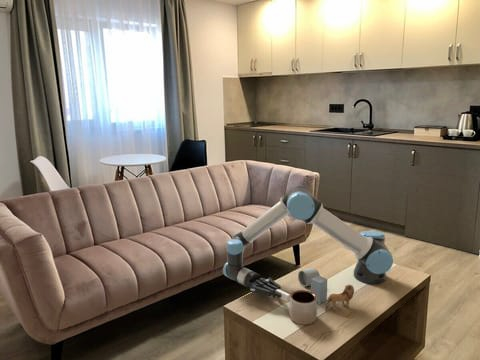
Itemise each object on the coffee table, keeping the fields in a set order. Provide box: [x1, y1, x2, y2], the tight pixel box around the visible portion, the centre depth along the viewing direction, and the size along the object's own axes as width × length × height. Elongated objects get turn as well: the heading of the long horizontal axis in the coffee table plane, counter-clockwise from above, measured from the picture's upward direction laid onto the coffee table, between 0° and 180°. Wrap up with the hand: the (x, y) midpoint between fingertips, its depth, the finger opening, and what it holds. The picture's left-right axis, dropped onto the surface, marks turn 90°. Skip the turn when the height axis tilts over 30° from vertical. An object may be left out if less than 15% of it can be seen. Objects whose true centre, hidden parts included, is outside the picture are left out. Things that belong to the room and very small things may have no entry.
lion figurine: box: [324, 284, 355, 312], centre depth 166 cm, size 15×5×9 cm, turn 117°
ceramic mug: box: [297, 268, 321, 288], centre depth 188 cm, size 11×8×8 cm
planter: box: [289, 289, 318, 326], centre depth 159 cm, size 11×11×10 cm
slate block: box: [310, 275, 328, 305], centre depth 172 cm, size 5×5×10 cm
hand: (288, 297), depth 164 cm, fingers closed
